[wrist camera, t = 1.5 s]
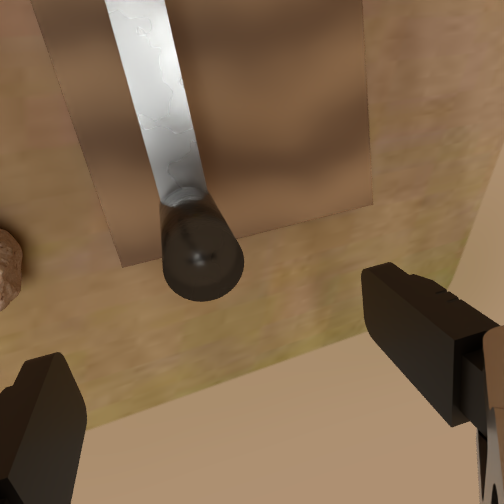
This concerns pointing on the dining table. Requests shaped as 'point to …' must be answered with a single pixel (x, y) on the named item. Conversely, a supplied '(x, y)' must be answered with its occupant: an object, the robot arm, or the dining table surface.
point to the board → (225, 111)
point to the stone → (9, 268)
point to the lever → (174, 156)
